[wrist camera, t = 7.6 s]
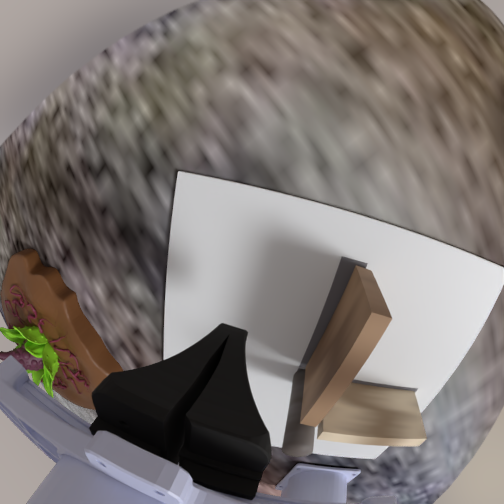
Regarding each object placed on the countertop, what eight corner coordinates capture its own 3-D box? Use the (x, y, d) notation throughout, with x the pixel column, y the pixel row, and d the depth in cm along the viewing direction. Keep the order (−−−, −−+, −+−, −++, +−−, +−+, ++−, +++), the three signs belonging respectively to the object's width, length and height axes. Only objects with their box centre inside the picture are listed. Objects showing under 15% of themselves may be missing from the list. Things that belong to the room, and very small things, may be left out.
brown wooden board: (319, 370, 18) (316, 427, 13) (305, 366, 18) (299, 423, 13) (371, 270, 15) (392, 318, 10) (355, 265, 15) (371, 312, 10)
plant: (84, 406, 30) (45, 453, 20) (5, 301, 28) (-45, 336, 17) (155, 383, 23) (97, 469, 13) (36, 222, 20) (-55, 262, 10)
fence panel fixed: (290, 382, 19) (278, 453, 13) (297, 366, 18) (286, 440, 12) (405, 401, 18) (418, 463, 12) (416, 387, 17) (433, 450, 11)
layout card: (374, 456, 21) (374, 459, 21) (166, 409, 24) (164, 411, 24) (507, 268, 13) (509, 270, 12) (180, 170, 16) (177, 171, 15)
